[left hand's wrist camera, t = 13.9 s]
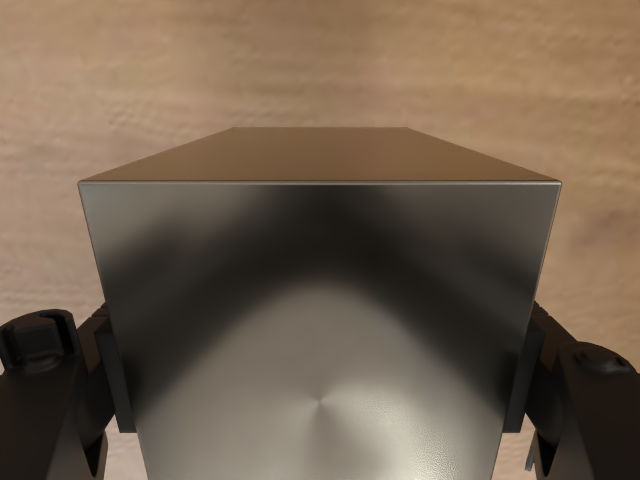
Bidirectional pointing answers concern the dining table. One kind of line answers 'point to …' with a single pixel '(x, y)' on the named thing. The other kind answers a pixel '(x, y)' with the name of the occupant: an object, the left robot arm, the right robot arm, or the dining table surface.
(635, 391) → the left robot arm
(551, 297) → the dining table surface
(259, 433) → the block
